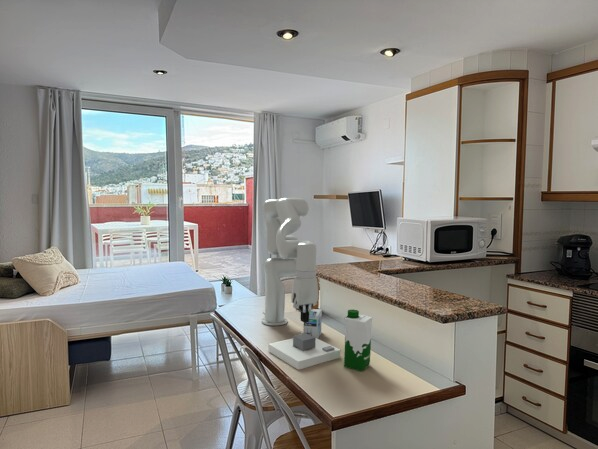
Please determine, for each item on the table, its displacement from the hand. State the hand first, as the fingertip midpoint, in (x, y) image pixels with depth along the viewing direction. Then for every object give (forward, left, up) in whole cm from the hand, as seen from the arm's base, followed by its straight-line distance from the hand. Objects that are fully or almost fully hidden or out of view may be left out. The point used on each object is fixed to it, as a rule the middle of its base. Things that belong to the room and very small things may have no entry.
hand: (304, 321), depth 152 cm
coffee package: (-51, +40, -13) cm, 66 cm away
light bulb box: (-15, +16, -13) cm, 26 cm away
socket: (0, 0, -13) cm, 13 cm away
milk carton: (+19, +10, -13) cm, 25 cm away
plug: (0, 0, -13) cm, 13 cm away
